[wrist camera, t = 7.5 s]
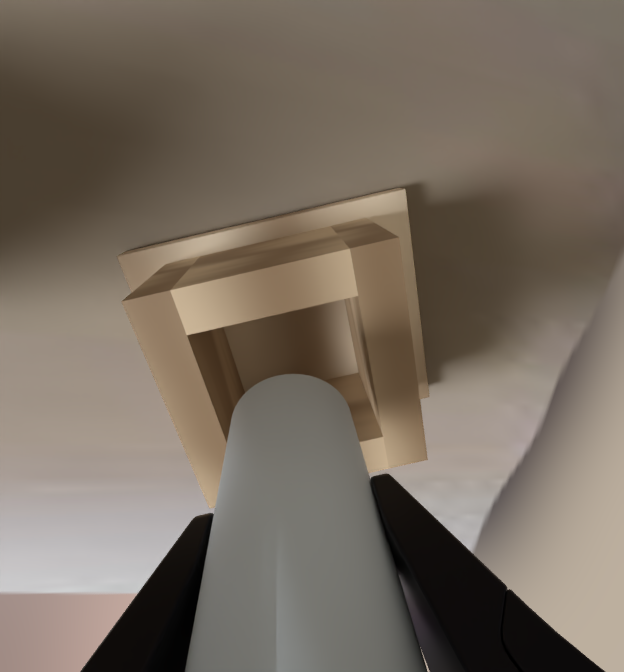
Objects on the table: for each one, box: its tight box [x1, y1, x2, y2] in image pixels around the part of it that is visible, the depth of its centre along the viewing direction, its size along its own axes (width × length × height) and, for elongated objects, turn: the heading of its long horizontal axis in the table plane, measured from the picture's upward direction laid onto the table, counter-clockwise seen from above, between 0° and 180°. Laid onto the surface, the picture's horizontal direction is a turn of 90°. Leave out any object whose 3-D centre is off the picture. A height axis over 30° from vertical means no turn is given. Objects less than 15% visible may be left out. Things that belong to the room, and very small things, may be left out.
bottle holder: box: [117, 188, 429, 508], centre depth 16 cm, size 12×10×6 cm
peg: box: [185, 374, 427, 672], centre depth 7 cm, size 4×4×10 cm
